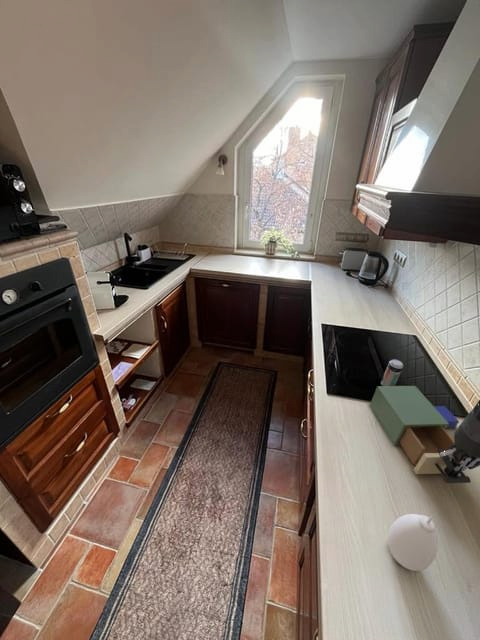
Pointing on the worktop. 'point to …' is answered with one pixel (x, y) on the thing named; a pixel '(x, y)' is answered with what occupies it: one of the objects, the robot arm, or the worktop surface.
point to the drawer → (429, 450)
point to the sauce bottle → (413, 541)
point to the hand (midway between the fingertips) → (449, 474)
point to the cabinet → (403, 410)
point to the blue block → (447, 416)
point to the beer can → (392, 373)
